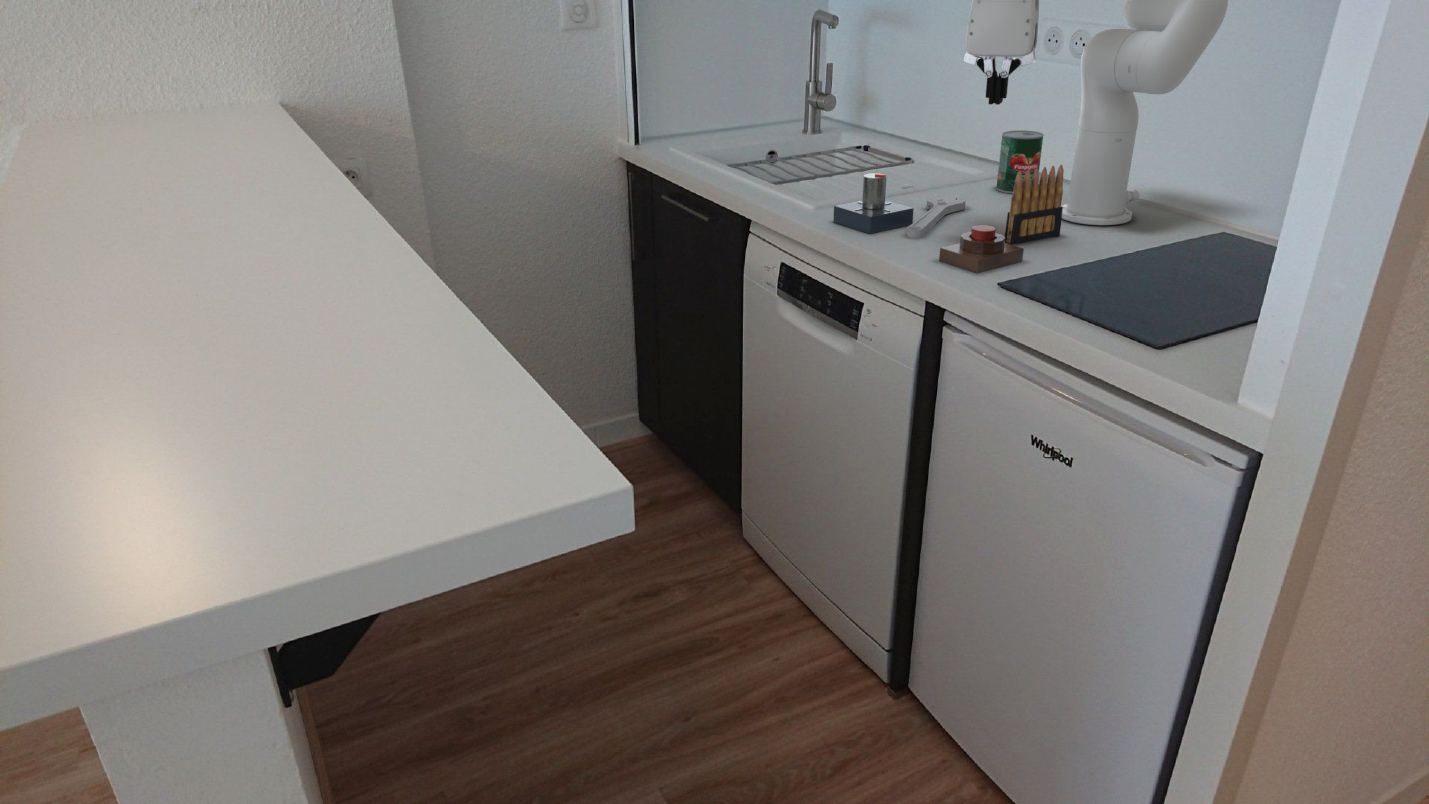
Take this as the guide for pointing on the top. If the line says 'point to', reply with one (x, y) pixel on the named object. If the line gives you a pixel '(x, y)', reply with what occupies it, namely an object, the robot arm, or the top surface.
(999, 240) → the block
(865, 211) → the block
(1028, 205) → the ammunition clip
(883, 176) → the silver upright cylinder
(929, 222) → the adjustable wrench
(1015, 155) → the canned tomato
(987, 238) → the release button
